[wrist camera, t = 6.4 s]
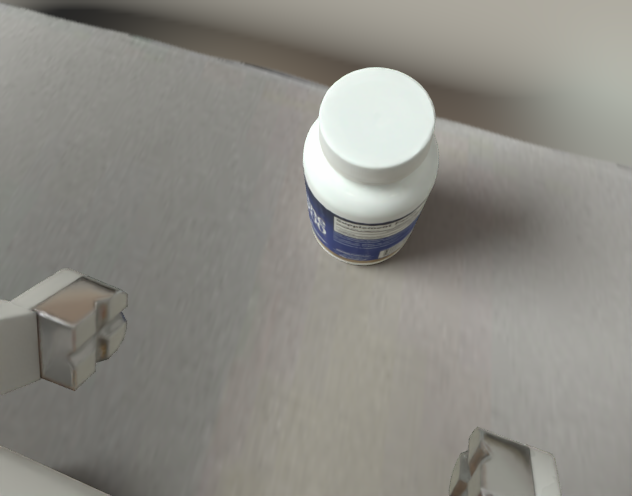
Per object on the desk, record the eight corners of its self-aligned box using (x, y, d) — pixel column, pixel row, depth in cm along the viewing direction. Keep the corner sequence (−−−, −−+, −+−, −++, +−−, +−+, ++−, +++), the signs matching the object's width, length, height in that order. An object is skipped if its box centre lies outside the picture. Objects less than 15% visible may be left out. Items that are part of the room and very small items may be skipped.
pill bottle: (311, 171, 27) (300, 48, 18) (410, 172, 27) (452, 49, 18) (307, 267, 25) (294, 187, 16) (413, 269, 25) (461, 189, 16)
